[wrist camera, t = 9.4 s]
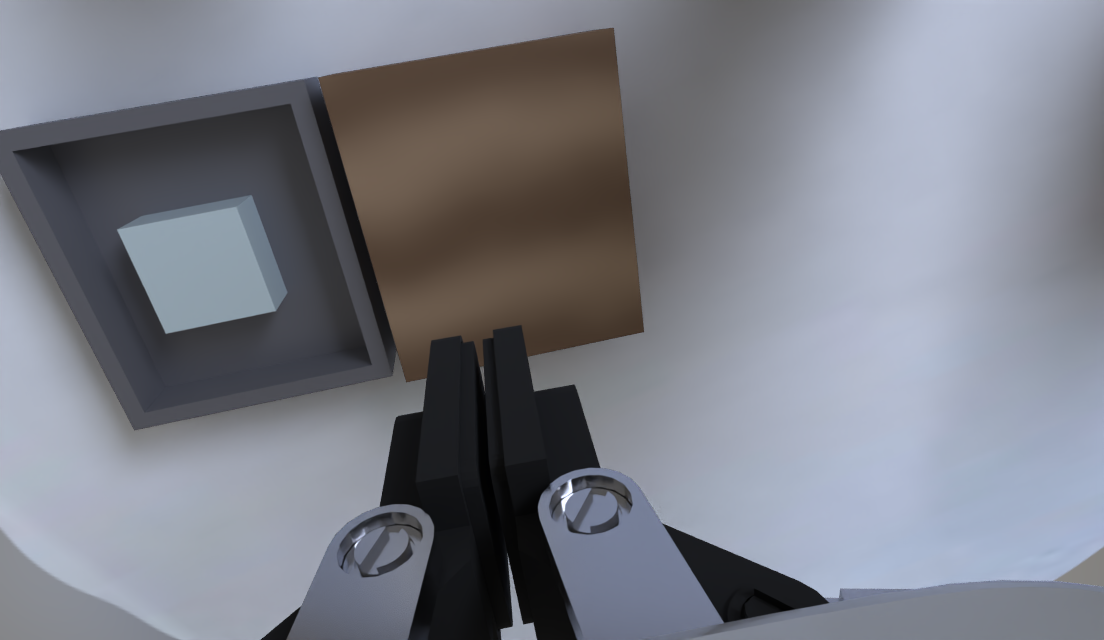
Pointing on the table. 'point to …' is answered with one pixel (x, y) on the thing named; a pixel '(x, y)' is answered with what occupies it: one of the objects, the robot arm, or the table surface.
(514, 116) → the board
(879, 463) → the table surface
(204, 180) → the tray
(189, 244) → the tile
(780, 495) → the table surface
